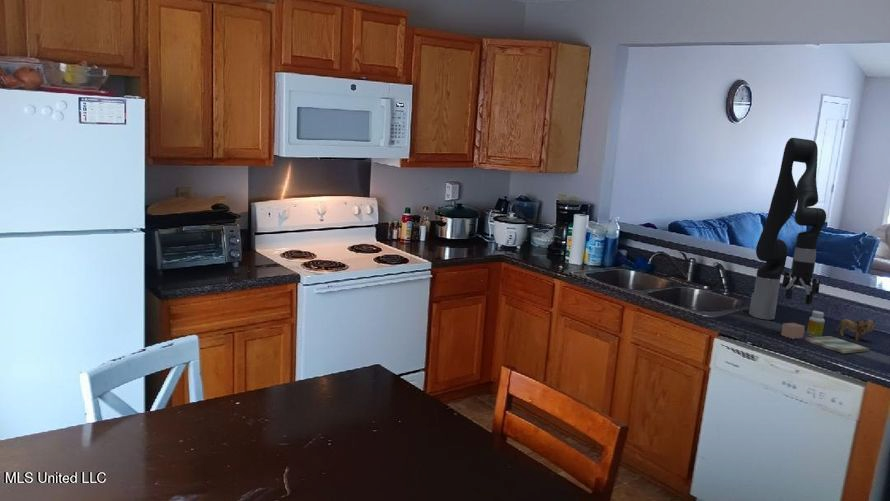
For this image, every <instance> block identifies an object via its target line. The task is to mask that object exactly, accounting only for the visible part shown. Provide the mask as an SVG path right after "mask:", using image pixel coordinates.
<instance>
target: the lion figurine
mask: <svg viewBox="0 0 890 501" xmlns="http://www.w3.org/2000/svg"><path fill="white" fill-rule="evenodd" d="M846 329H848V330H849V331H850V332H853V333H855V341H858V342H859V341H862V340H863V339H862V335H866V334H868V333H871V332H873V330H874V329H875V323H874V321H873V320H872V319H868V318H866V319H863V320H858V321H857V322H854V321H852V320H850V319H848V318H844V319H842V320H841V321H840V323H839V326H838V327H837V328H836V329H833V330H832V331H833V332H837V331H839V334H840V336H842V337H845V334H844V331H845V330H846Z"/></svg>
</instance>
